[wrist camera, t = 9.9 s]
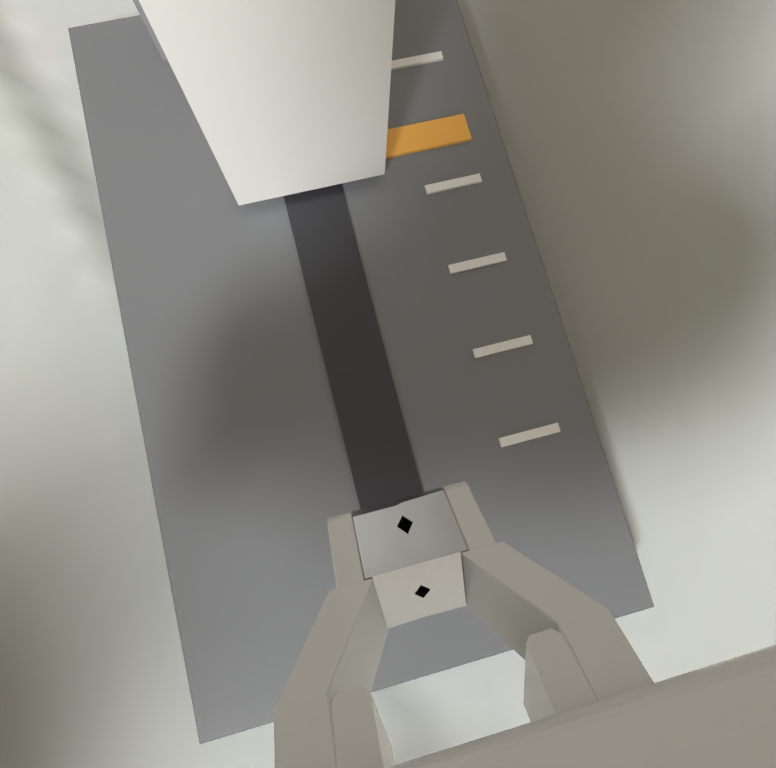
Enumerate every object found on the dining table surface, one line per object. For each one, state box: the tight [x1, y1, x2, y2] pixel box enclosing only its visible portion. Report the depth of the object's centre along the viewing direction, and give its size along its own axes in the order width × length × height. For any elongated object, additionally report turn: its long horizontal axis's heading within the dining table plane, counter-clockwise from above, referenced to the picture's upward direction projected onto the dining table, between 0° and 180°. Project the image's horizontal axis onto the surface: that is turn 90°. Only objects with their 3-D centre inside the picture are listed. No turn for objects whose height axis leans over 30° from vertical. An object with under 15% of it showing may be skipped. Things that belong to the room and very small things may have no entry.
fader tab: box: [139, 0, 395, 205], centre depth 12 cm, size 3×5×10 cm, turn 105°
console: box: [68, 0, 654, 744], centre depth 16 cm, size 24×14×5 cm, turn 15°
